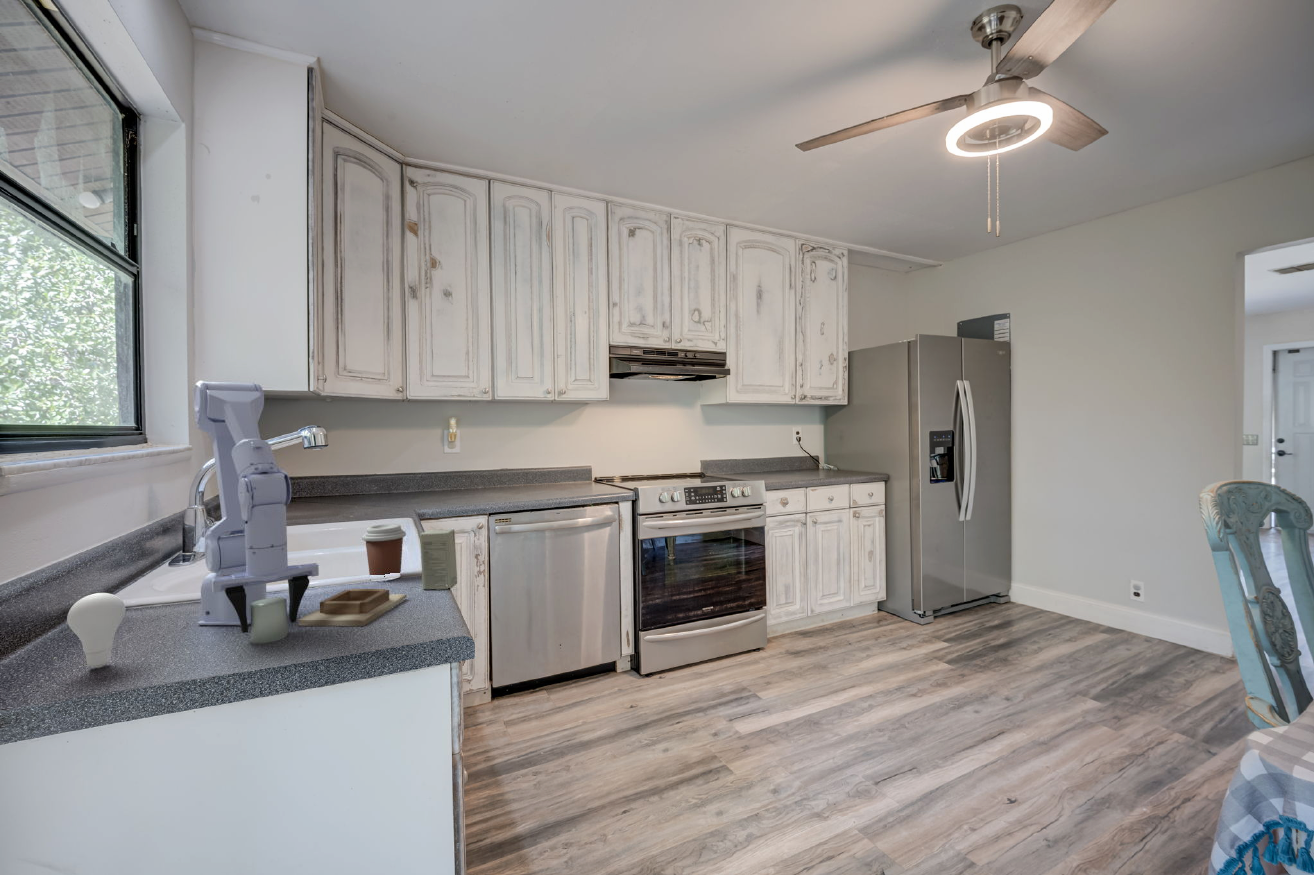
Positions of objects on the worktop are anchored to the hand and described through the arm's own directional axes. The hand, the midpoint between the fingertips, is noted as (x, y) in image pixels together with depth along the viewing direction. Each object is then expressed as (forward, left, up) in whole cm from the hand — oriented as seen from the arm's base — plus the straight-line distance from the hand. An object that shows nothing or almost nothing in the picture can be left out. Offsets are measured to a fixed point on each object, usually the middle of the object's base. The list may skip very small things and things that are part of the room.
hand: (269, 626), depth 94 cm
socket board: (+7, +13, -2) cm, 15 cm away
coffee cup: (0, +36, -2) cm, 36 cm away
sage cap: (0, 0, -2) cm, 2 cm away
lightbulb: (-17, -12, -2) cm, 21 cm away
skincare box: (+16, +29, -2) cm, 33 cm away
